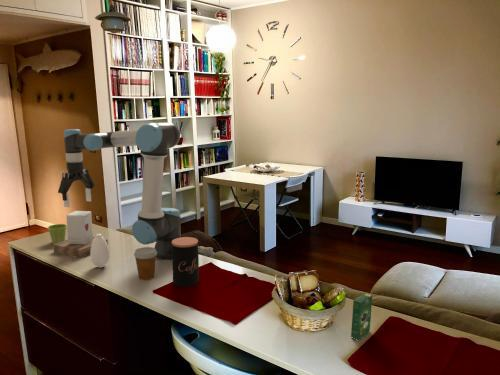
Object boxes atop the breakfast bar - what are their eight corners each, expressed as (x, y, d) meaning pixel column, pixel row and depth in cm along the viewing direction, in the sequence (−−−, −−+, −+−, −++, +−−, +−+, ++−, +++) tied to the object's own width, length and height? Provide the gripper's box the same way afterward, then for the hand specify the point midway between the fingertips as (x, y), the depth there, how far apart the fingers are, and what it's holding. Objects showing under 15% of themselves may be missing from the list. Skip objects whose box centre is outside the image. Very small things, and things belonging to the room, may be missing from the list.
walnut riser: (108, 246, 215) (107, 239, 214) (80, 258, 199) (79, 250, 198) (82, 241, 222) (81, 234, 221) (53, 252, 206) (53, 244, 205)
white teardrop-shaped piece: (88, 267, 188) (85, 228, 184) (104, 262, 193) (102, 225, 190) (96, 271, 182) (94, 232, 179) (113, 266, 188) (110, 228, 185)
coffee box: (362, 328, 137) (364, 291, 135) (370, 331, 135) (373, 294, 133) (350, 338, 131) (352, 299, 129) (358, 341, 129) (360, 302, 127)
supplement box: (85, 244, 205) (83, 215, 202) (68, 244, 206) (65, 215, 203) (93, 239, 214) (91, 211, 211) (77, 238, 215) (74, 210, 212)
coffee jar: (177, 290, 165) (176, 246, 161) (169, 280, 174) (168, 239, 171) (202, 284, 170) (202, 242, 166) (193, 275, 179) (192, 235, 176)
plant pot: (63, 245, 217) (61, 229, 215) (45, 244, 217) (43, 228, 215) (71, 239, 226) (69, 224, 224) (53, 239, 226) (52, 223, 224)
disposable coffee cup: (162, 274, 180) (161, 248, 177) (150, 283, 171) (148, 255, 169) (143, 271, 183) (142, 245, 181) (130, 280, 174) (129, 252, 172)
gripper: (88, 158, 214) (92, 198, 218) (47, 164, 192) (51, 208, 196) (99, 158, 211) (102, 199, 215) (58, 165, 189) (62, 210, 193)
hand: (78, 204), depth 206 cm, fingers open, 13 cm apart
